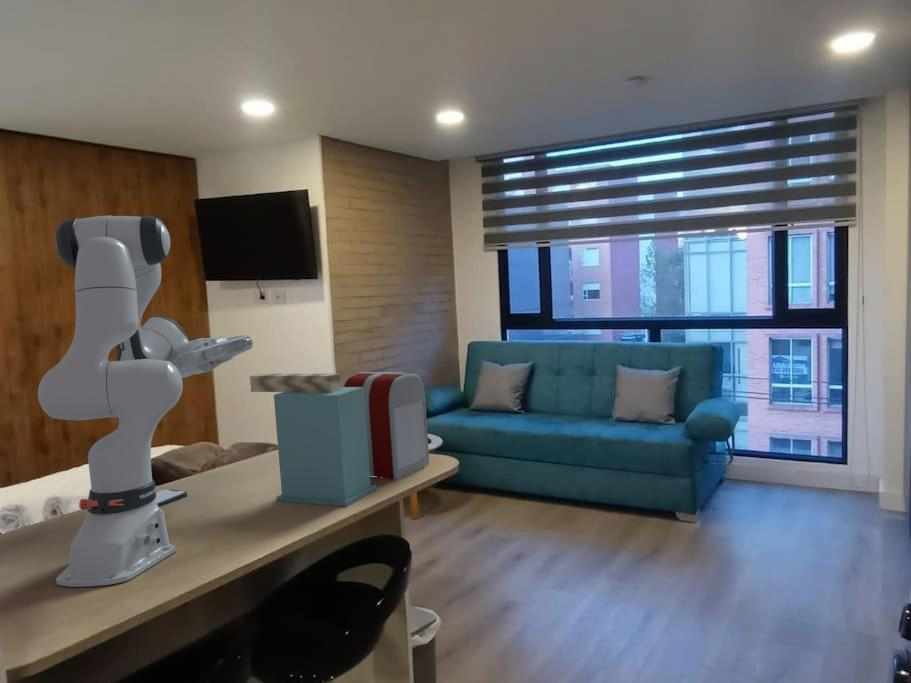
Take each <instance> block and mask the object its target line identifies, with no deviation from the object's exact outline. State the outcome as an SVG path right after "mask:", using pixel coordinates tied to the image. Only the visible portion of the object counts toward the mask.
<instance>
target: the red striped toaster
mask: <svg viewBox="0 0 911 683" xmlns="http://www.w3.org/2000/svg"><path fill="white" fill-rule="evenodd" d="M342 387H364V399H365V413H366V427H367V441H368V456H369V470H370V476H377V477H383V478H389V479H388V480H392V479H393V480H394V479H397V480H399V478H400V479H402V478H404V477H406V476H408V475H407V474H409V475H411V474H413V473H415V472H417V471H416V470H418V469H420V468H422V467H424V466H426V465H428V464H429V465H430V455H429V437H428V422H427V407H426V406H427V405H426V392H425V387H424V382H422V379H421V378H420V376H419V375H418V374H416V373H408V372H395V371H393V372H392V371H382V372H381V371H380V372H379V371H373V372H372V371H360V372H356V374H352V375H350V376H348V377H347V378H346V379H345V381H344V383H343V385H342ZM426 467H427V466H426ZM424 468H425V467H424ZM422 469H423V468H422ZM420 470H421V469H420ZM414 471H415V472H414ZM418 471H419V470H418ZM412 472H413V473H412ZM410 473H411V474H410ZM405 475H406V476H405ZM403 476H404V477H403ZM401 477H402V478H401ZM383 478H382V479H383Z"/></svg>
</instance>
